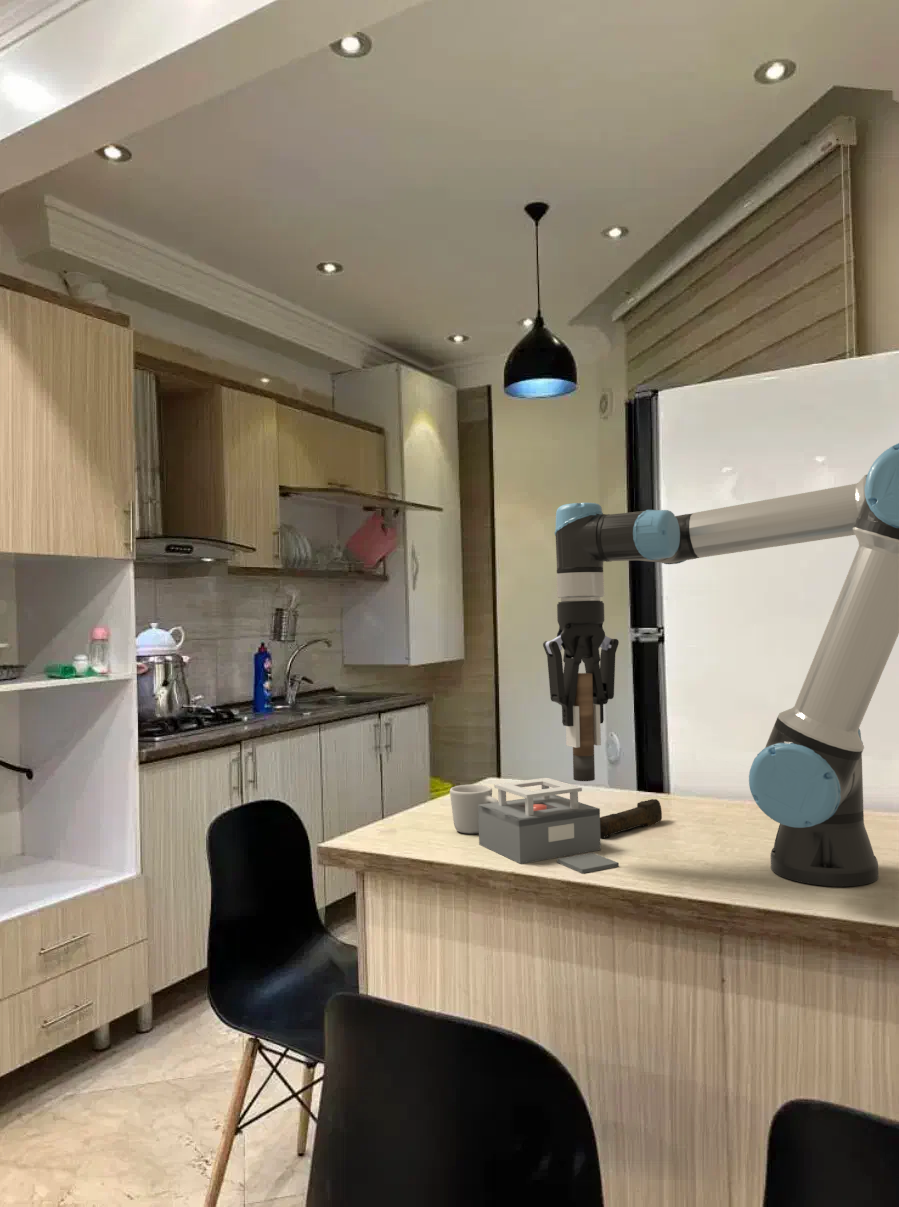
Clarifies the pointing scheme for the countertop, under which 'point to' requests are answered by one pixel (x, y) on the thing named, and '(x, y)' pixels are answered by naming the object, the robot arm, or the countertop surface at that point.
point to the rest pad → (587, 862)
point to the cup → (469, 806)
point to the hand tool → (631, 818)
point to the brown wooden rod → (584, 730)
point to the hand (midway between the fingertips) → (583, 745)
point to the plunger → (539, 807)
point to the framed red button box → (539, 822)
